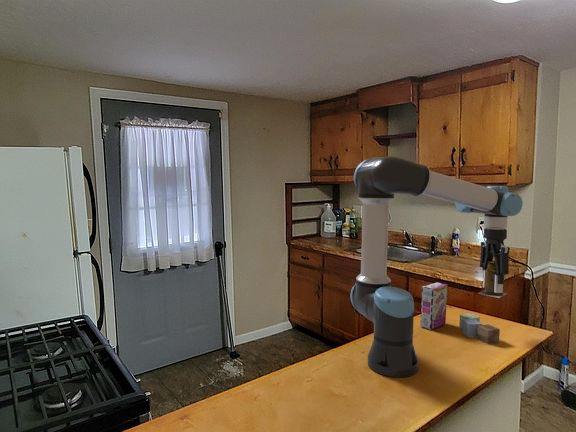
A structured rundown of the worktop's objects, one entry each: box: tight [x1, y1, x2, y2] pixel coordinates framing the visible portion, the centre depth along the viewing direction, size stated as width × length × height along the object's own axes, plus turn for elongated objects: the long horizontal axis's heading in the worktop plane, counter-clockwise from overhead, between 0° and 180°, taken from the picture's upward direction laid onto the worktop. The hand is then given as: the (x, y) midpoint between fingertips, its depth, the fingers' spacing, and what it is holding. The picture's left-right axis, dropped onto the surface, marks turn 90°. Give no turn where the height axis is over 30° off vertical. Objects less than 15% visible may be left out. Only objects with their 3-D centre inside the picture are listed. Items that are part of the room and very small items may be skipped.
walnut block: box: [476, 323, 501, 345], centre depth 139 cm, size 5×5×5 cm
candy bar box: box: [419, 282, 448, 331], centre depth 153 cm, size 11×5×16 cm, turn 130°
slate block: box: [461, 319, 483, 338], centre depth 144 cm, size 5×5×5 cm
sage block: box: [458, 312, 481, 329], centre depth 151 cm, size 5×5×5 cm
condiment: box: [478, 260, 508, 299], centre depth 143 cm, size 7×8×12 cm
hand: (492, 289), depth 144 cm, fingers closed on condiment, 6 cm apart
